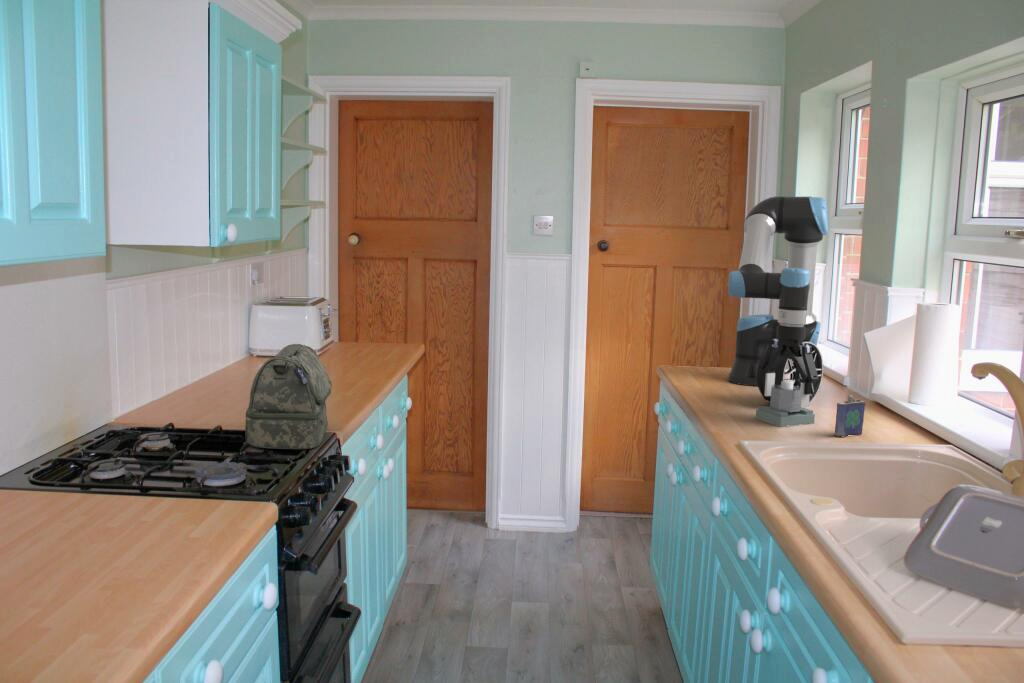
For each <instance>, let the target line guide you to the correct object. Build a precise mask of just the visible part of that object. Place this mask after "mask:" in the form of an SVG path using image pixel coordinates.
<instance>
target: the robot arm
mask: <svg viewBox="0 0 1024 683" xmlns="http://www.w3.org/2000/svg"><path fill="white" fill-rule="evenodd" d="M827 204H828V203H827V201H826V199H825V198H823V197H819V196H817V197H816V196H781V195H780V196H772V197H769V198H765V199H763V200H761V201H760V202H758V203H757V204H755V205H754V207H752V208H751V209H750V211H749V212H748V213H747V215H746V216H745V220H744V224H743V230H744V233H745V236H744V241H743V245H742V251H741V256H740V261H739V265H738V270H732V271H730V272H729V276H728V284H727V285H728V287H727V288H728V289H727V290H728V295H729V296H731V297H734V298H735V297H736V298H741V299H745V298H746V299H767V300H778V301H779V302H778V310H777V311H778V312H777V319H776V318H775V317H774V315H773V314H751V315H745V316H742V317H740V318H739V319H738V321H737V327H736V330H735V331H736V341H735V342H736V343H735V357H734V361H733V364H732V367H731V370H730V372H729V374H728V381H729V380H730V381H732V382H731V383H733V382H735V383H734V384H736V383H740V384H739V385H742V384H746V385H745V386H750V385H754V386H753V387H758V383H757V370H758V364H759V361H760V358H761V355H762V353H763V351H764V350H765V348H766V347H767V346H768V345H769V347H768V349H767V351H766V353H765V356H764V358H763V360H762V362H761V365H760V369H762V370H764V372H765V380H764V383H765V395H764V396H771V387H772V385H774V384H775V373H772V372H775V371H774V370H775V368H776V367H777V366H778V365H779V363H780V362H781V361H782V360H783V358H788V359H790V360H791V361H792V362H794V363H795V365H796V367H797V369H798V371H799V373H800V375H801V377H802V379H803V381H802V382H801V387H800V400H799V406H805V407H809V406H810V403H809V396H810V394H811V389H812V383H813V382H815V381H818V380H819V378H818V374H817V371H816V367H815V363H814V360H813V356H812V346H811V345H806V346H803V343H802V342H803V341H807V342H811V343H813V344H815V345H816V346H817V347H818V341H819V336H820V331H821V322H820V321H817V316H816V314H814V312H813V303H814V290H815V278H816V277H815V276H816V267H817V266H816V265H817V254H818V253H817V251H818V245H819V244H820V243H821V242H822V241H823V238H824V236H827V235H828V233H829V222H828V219H829V218H828V205H827ZM774 234H783V235H784V240H785V242H787V243H788V256H787V267H784V268H783V269H781V272H769V271H768V272H766V270H767V260H768V256H769V249H770V243H771V237H772V236H773V235H774ZM774 318H775V319H774ZM778 338H779V339H778ZM778 348H779V349H778ZM777 349H778V350H777ZM798 356H799V357H798ZM765 364H766V365H765ZM730 381H729V382H730Z"/></svg>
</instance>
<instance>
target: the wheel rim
mask: <svg viewBox="0 0 1024 683" xmlns="http://www.w3.org/2000/svg"><path fill="white" fill-rule="evenodd" d="M778 339H779V338H778ZM802 343H803V346H806V345H811V346H812V356H813V360H814V363H815V367H816V371H817V374H818V378H819V380H818V381H815V382H813V383H812V389H811V394H810V396H809V404H811V402H813V400H814V399H815V398H816V397H817V394H818V392H819V390H820V387H821V385H822V381H823V375H824V360H823V356H822V353H821V351H820V349H819V347H818V345H817V346H816V345H815V344H813V343H811V342H807V341H803V342H802ZM768 347H769V345H768V346H767V347H766V348H765V350H764V351H763V353H762V355H761V358H760V361H759V364H758V370H757V383H758V386H757V387H758V391H759V393H760V395H761V397H762V398H763V399H764V400H766V401H768V402H770V401H771V396H764V395H765V383H764V380H765V372H764V370H762V369H760V365H761V362H762V360H763V358H764V356H765V353H766V351H767V349H768ZM778 349H779V348H778ZM778 349H777V350H778ZM798 357H799V356H798ZM792 362H793V361H792ZM792 364H793V365H792ZM792 364H791V359H788V358H783V360H782V361H781V362H780V363H779V365H778V366H777V367H776V368H775V370H774V371H775V372H772V373H775V384H774V385H780V384H781V381H790V382H793V385H794V386H798V387H801V382H802V381H803V379H802V377H801V375H800V373H799V371H798V369H797V367H796V365H795V363H794V362H793V363H792ZM765 365H766V364H765ZM787 365H788V367H789V369H788V370H787V371H786V369H787ZM789 375H790V376H789ZM786 376H789V378H785V377H786ZM801 407H803V408H805V407H806V406H801Z"/></svg>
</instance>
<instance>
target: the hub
mask: <svg viewBox="0 0 1024 683" xmlns="http://www.w3.org/2000/svg"><path fill="white" fill-rule="evenodd" d="M799 400H800V387H798V386H794V385H793V389H782V388H781V384H780V385H772V387H771V401H769V402H770V403H769V404H770V405H769V407H770V409H774V410H777V411H784V412H798V411H800V410H801V406H799Z"/></svg>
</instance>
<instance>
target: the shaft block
mask: <svg viewBox="0 0 1024 683" xmlns="http://www.w3.org/2000/svg"><path fill="white" fill-rule="evenodd" d="M781 388H782V389H793V382H790V381H781ZM815 416H816V415H815V414H814V410H812V409H809V408H805V407H803V408H802V407H801V410H800V411H798V412H784V411H777V410H774V409H770V406H766V405H762V406H761V405H759V406H757V409H756V410H755V416H754V417H755V418H754V419H755V420H758V421H762V422H764V421H765V423H767V422H768V424H770V423H771V425H773V424H774V426H776V425H778V426H777V427H779V426H784V427H788V426H787V425H794V426H800V425H799V424H803V425H809V424H808V423H813V424H815Z"/></svg>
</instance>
